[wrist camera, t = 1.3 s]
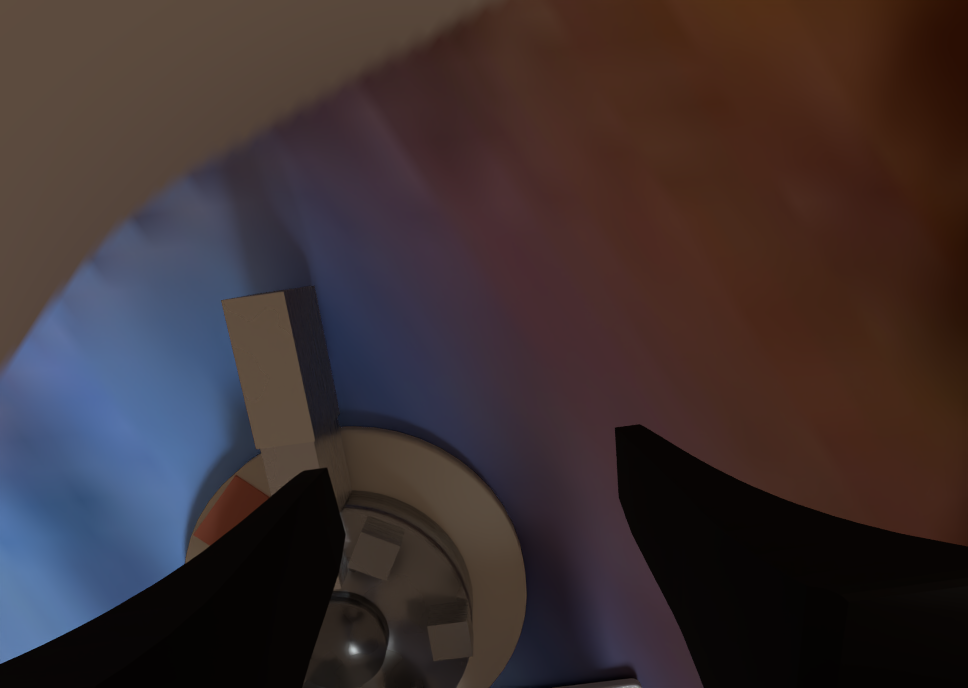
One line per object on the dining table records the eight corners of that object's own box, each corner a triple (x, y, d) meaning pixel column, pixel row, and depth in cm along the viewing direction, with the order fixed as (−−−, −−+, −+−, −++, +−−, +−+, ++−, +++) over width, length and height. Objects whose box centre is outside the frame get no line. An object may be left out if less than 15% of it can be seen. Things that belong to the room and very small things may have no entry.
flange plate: (543, 701, 26) (545, 721, 24) (237, 737, 26) (227, 758, 25) (502, 404, 23) (502, 412, 22) (159, 450, 23) (143, 460, 22)
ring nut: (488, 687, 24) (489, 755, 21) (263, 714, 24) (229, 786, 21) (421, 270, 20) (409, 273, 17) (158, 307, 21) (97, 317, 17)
